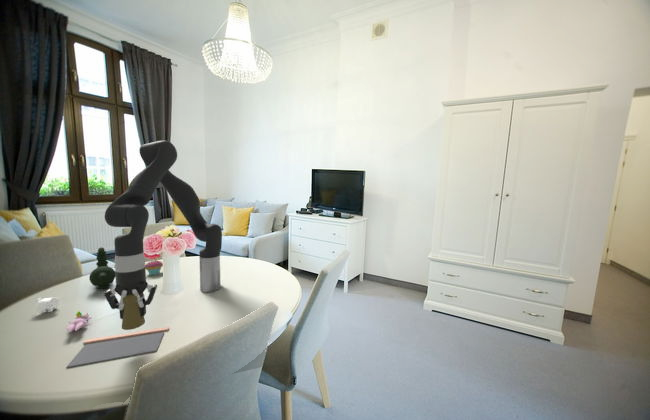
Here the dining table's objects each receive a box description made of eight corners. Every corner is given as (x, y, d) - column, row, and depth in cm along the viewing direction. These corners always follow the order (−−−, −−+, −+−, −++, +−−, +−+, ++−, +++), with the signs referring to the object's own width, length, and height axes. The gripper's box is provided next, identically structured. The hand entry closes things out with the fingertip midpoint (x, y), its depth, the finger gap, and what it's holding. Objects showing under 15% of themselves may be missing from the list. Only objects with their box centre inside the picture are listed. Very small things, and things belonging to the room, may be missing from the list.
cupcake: (153, 270, 146) (152, 250, 144) (166, 271, 145) (166, 251, 143) (141, 275, 137) (140, 254, 136) (155, 276, 136) (153, 255, 135)
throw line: (169, 328, 91) (168, 326, 91) (168, 330, 90) (168, 329, 90) (85, 341, 82) (85, 339, 82) (83, 344, 81) (83, 342, 81)
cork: (132, 331, 77) (130, 297, 75) (116, 328, 78) (114, 295, 77) (149, 320, 83) (148, 289, 81) (134, 318, 84) (133, 287, 82)
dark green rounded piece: (91, 283, 129) (89, 296, 111) (88, 247, 128) (86, 255, 110) (115, 278, 136) (117, 291, 117) (112, 244, 134) (114, 251, 116)
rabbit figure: (72, 324, 94) (59, 339, 81) (71, 308, 94) (59, 321, 81) (94, 319, 97) (85, 333, 85) (93, 304, 97) (85, 316, 85)
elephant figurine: (28, 317, 95) (27, 302, 94) (47, 306, 103) (46, 293, 102) (50, 315, 96) (48, 301, 95) (66, 305, 104) (65, 292, 103)
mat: (164, 333, 88) (164, 332, 88) (156, 351, 79) (156, 350, 79) (85, 345, 80) (85, 344, 80) (66, 368, 71) (66, 366, 71)
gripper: (160, 261, 84) (162, 309, 86) (107, 265, 79) (111, 315, 81) (153, 269, 77) (156, 320, 79) (96, 273, 72) (100, 328, 74)
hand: (133, 317), depth 80 cm, fingers closed on cork, 4 cm apart
